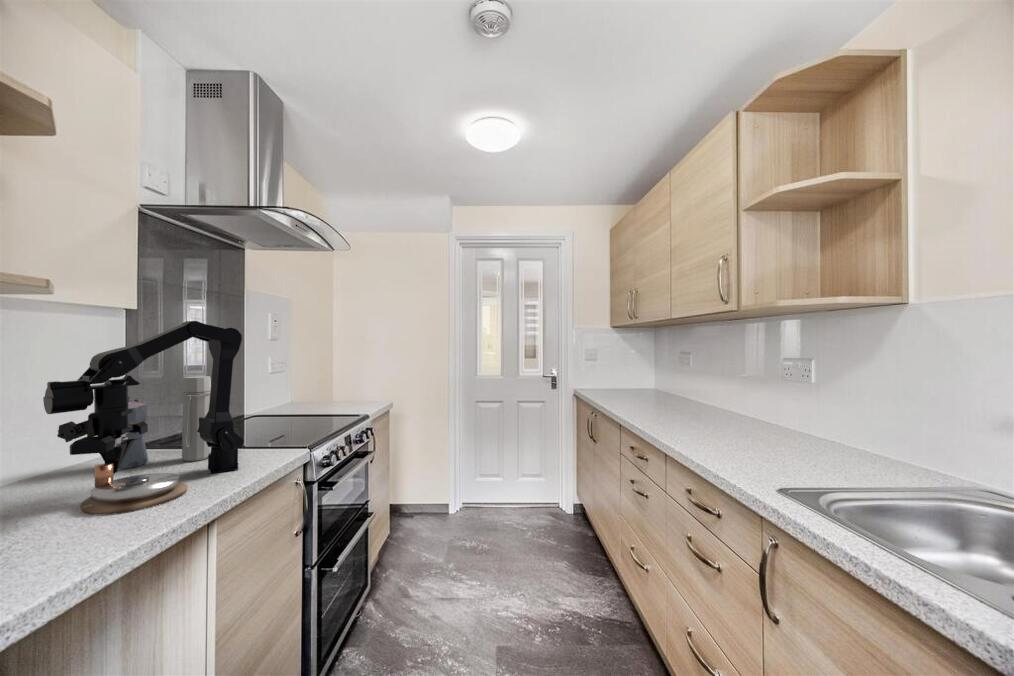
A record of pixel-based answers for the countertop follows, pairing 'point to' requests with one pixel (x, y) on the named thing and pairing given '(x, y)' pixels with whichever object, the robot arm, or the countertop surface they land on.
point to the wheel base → (132, 502)
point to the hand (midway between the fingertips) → (113, 473)
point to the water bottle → (194, 417)
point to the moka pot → (136, 438)
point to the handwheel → (129, 485)
